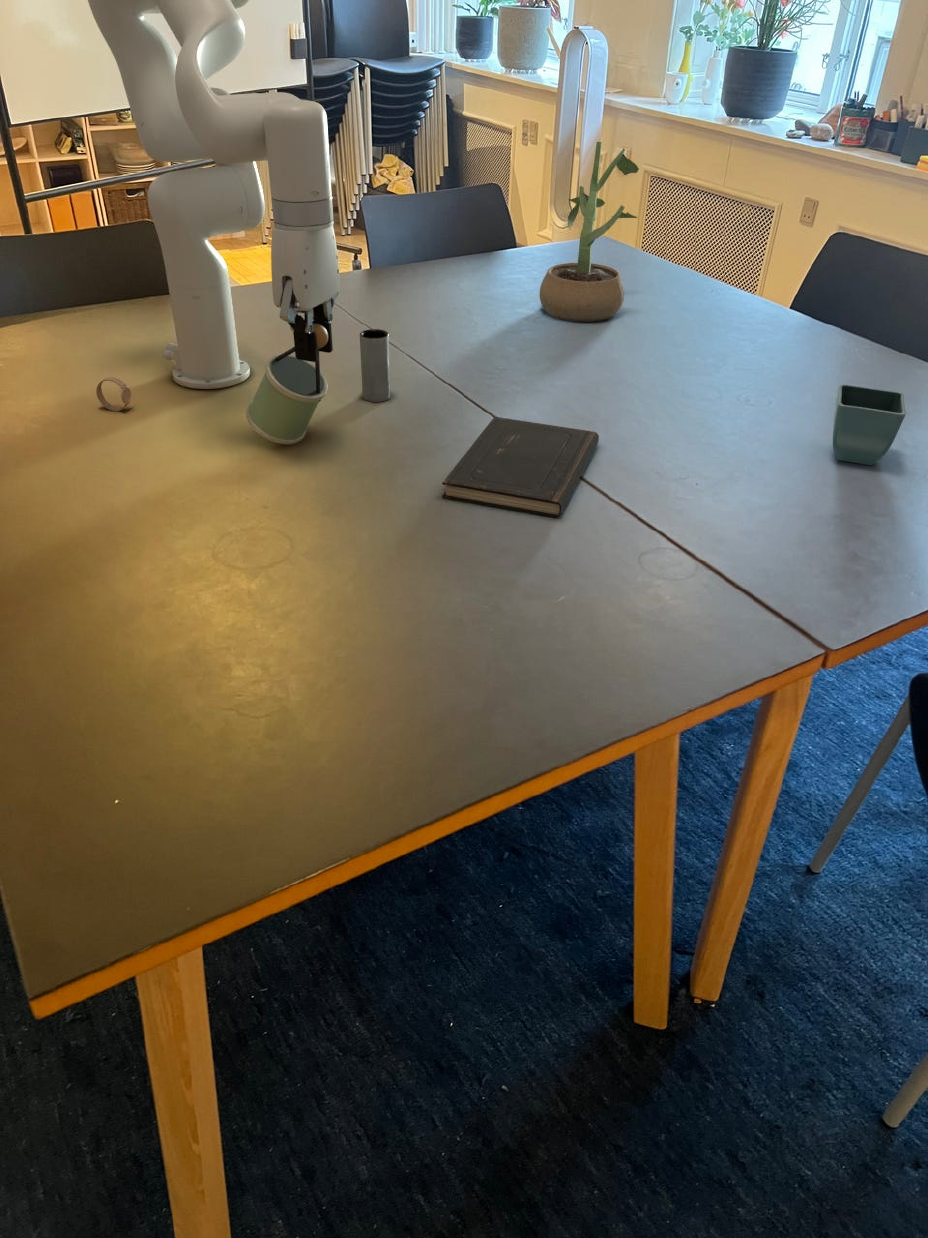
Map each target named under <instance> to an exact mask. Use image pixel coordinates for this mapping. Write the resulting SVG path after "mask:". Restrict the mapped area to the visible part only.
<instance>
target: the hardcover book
mask: <svg viewBox="0 0 928 1238" xmlns="http://www.w3.org/2000/svg"><path fill="white" fill-rule="evenodd" d="M599 440H600V435H599V434H598V432H596V431H592V430H585V429H578V428H573V427H572V428H571V427H565V426H559V425H553V424H545V423H540V422H533V421H526V420H518V419H514V418H513V419H512V418H507V417H500V416H494V417H493V418H492V419H491V420H490V422H489V423H488V424H487V425H486V427H485V428H484V430H483V431H482V432H481V433H480V434H479V436H478V437H477V438H476V440H475V441H473V443H472V445H471V446H470V447H469V448H468V450H467V451H466V452H465V454H464V455H462V457H461V458H460V460H459V461H458V462H457V463H456V465H455V466H453V469H452V470H451V471H450V472H449V474H448V475H447V476H446V477H445V479H444V480H443V481H442V485H443V486H445V489H444V492H443V494H442V495H441V498H443V499H447V500H448V499H449V500H454V501H459V502H466V503H470V504H476V505H477V504H478V505H482V506H488V507H494V508H499V509H505V510H511V511H515V512H520V513H521V512H522V513H528V514H534V515H539V516H545V517H549V518H550V517H551V518H558V517H560V515H561V514H562V513H563V510H564V508H565V507H566V504H567V503H568V501H569V500H570V497H571V495H572V493H573V492H574V490H575V488H576V485H577V484H578V482H579V480H580V478H581V477H582V474H583V473H584V472H585V471H584V470H585V469H586V467H587V465H588V463H589V462H590V459H591V457H592V455H593V454H594V452H595V450H596V448H597V446H598V444H599Z"/></svg>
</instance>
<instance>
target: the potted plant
mask: <svg viewBox="0 0 928 1238" xmlns="http://www.w3.org/2000/svg"><path fill="white" fill-rule="evenodd" d="M595 143H596V145H595V151H594V152H595V153H594V160H593V167H592V174H591V178H590V184H589V193H588V194H589V195H587V194H586V193H585V187H584V186H582V185H580V186H579V190H578V191H579V192H578V196H577V197H574V198H568V201H569V202H571V203H574V204H576V205H575V206H574V207H572V209H571V210H570V212H569V214H568V217H567V227H568V231H571V229H572V226H573V225H574V222H575V220H576V218H577V216H578V214H579V211H580V212H581V214H582V216H583V222H582V228H581V230H580V235H579V246H578V247H579V248H578V256H577V262H565V263H560V264H556V265H553V266H550V267H549V268H548V269H547V271H546V274H544V275H545V276H544V278H543V280H542V281H541V283H540V286H539V287H540V288H539V300H540V304H541V306H542V308H543V309H544V311H545V312H546V313H548V314H549V315H551V317H553V318H554V317H555V318H557V319H560V320H565V321H569V322H570V321H571V322H581V323H582V322H583V323H584V322H585V323H587V322H588V323H589V322H598V321H604V320H608V319H610V318H612V317H613V316H615V315H616V314H617V313H618V312H619V311H620V309H621V308H622V306H623V303H624V301H625V290H624V285H623V282H622V279H621V273H620V272H619V271H618V270H617V269H615V268H613V267H610V266H607V265H603V264H598V263H592V246H593V244H594V242H595V241H596V240H597V239H599V238H600V237H602V236H603V235H604V234H605V233H606V232H608V231H609V230H610V229H611V228H612V227H613V226H614V224H615V223H616V222H617V221H618V219H638V216H636V215H634V214H631V213H630V212H628V211H627V212H626V213H625V212H623V211H624V210H625V206H624V205H620V206H619V208H618V209H617V211H616V212H615V213H614V214H613V215H612V216H611V218H610V219H609V220H607V221H606V222H605V223H604V224H603V225H601V226H600V227H598V228H595V229H594V223H595V221H596V219H597V208H602V207H603V206H604V205H605V204H606V202H605V200H603V199H601V198H598V192H599V191H600V190H601V189H602V188H603V187H604V185H605V184H606V182H607V180H608V178H609V177H610V175H611V174H612V172H613V171H614V169H615V168H616V167H617V169H618V170H619V171H621V173H622V174H623V175H624V176H627V175H630V174H637V173H638V172H639V169H640V168H639V167H638V165H637V164H636V163H635V162H634V161H632V160H631V159H629V158H628V157H626V155H625V152H626V149H625V148H622V149H621V151H620V152H619V153H618V155H616V156H615V158H614V159H613V160H612V161H611V163H610V164H609V165H608V167H607V168H606V169H605V171H604V173H603V174H602V175H601V177H600V179H599V176H600V165H601V153H602V141H596V142H595Z"/></svg>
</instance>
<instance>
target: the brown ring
mask: <svg viewBox="0 0 928 1238" xmlns="http://www.w3.org/2000/svg"><path fill="white" fill-rule="evenodd" d="M104 382H113V383H114V384H116V385H117V386H118V387H119V388H120V390H121V395H120V398H121V401H122V402H123V404H124V405H123V406H114V405H113V404H111V403H109V402H108V401H107V400H106V398H105V395H104V394H103V389H102V385H103V383H104ZM95 392H96V397H97V399H98V401H99V403H100V404H101V405H102V406H103V407H104V408H106V409H107V410H109V411H112V412H120V411H123V410H124V409H125V408H126V407H127V406H128V405H129V404H130V403H131V399H132V391H131V389H130V387H128V385H127V384H126V383H125V382H124V381H122V380H120V378H117V377H114V376H113V377H112V376H109V377H106V378H104V379H102V380H101V381H100V382H98V384H97V386H96V391H95Z"/></svg>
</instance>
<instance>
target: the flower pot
mask: <svg viewBox="0 0 928 1238" xmlns="http://www.w3.org/2000/svg"><path fill="white" fill-rule="evenodd" d="M905 405H906V404H905V394H904V393H903V392H901V391H894V390H888V389H879V388H873V387H866V386H859V385H852V384H843V383H840V384H839V385H838V390H837V395H836V402H835V407H834V414H833V427H832V429H833V430H832V448H833V452H834V456H835V459H836V460H838V461H843V462H849V463H854V464H861V465H867V466H874V465H875V464H876V463H878V462H879V461H880V460H881V459H883V457H884V456H885V455H886V454H887V453H888V451H889V450H890V449H891V447H892V445H893V443H894V441H895V439H896V437H897V435H898V433H899V431H900V428H901V426H902V424H903V421H904V419H905V417H906V415H907V412H906V407H905Z"/></svg>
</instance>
